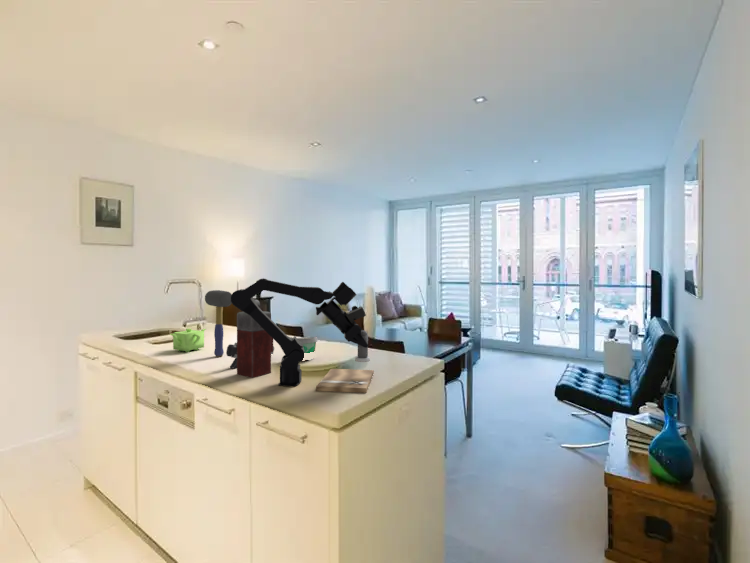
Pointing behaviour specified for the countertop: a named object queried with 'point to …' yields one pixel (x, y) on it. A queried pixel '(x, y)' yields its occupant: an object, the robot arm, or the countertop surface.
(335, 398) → the countertop surface
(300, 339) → the food container
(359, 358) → the grey domed cylinder
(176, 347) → the teapot
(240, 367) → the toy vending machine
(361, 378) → the board
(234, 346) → the gun
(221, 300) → the rubber mallet
